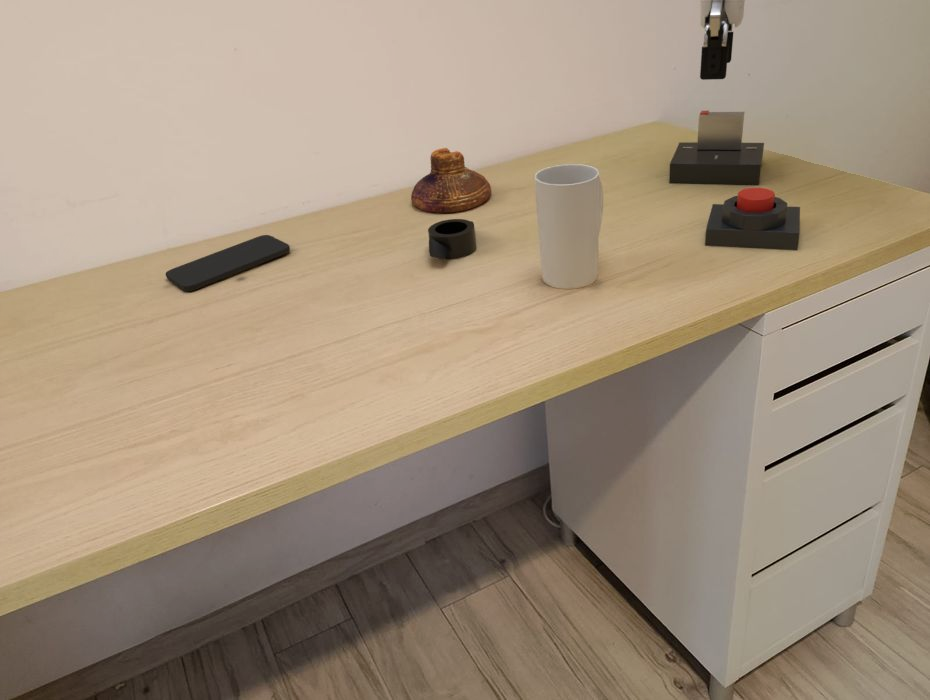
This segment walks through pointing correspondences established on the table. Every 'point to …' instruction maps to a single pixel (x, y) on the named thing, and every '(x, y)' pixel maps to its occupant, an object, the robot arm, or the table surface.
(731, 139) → the tap handle
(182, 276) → the phone
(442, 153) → the bell
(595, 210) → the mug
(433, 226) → the duct tape
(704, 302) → the table surface
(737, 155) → the plate
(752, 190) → the button
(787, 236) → the button box
